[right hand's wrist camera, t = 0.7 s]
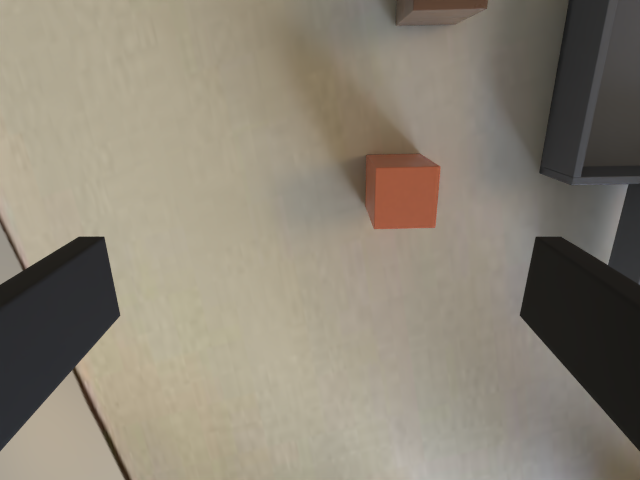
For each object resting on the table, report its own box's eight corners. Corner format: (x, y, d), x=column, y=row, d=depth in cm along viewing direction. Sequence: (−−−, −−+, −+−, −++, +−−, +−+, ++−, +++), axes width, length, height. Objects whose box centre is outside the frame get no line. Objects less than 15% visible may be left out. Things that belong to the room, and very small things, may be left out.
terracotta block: (366, 154, 33) (375, 167, 28) (420, 153, 33) (440, 166, 28) (365, 206, 35) (373, 229, 29) (416, 205, 35) (435, 228, 29)
